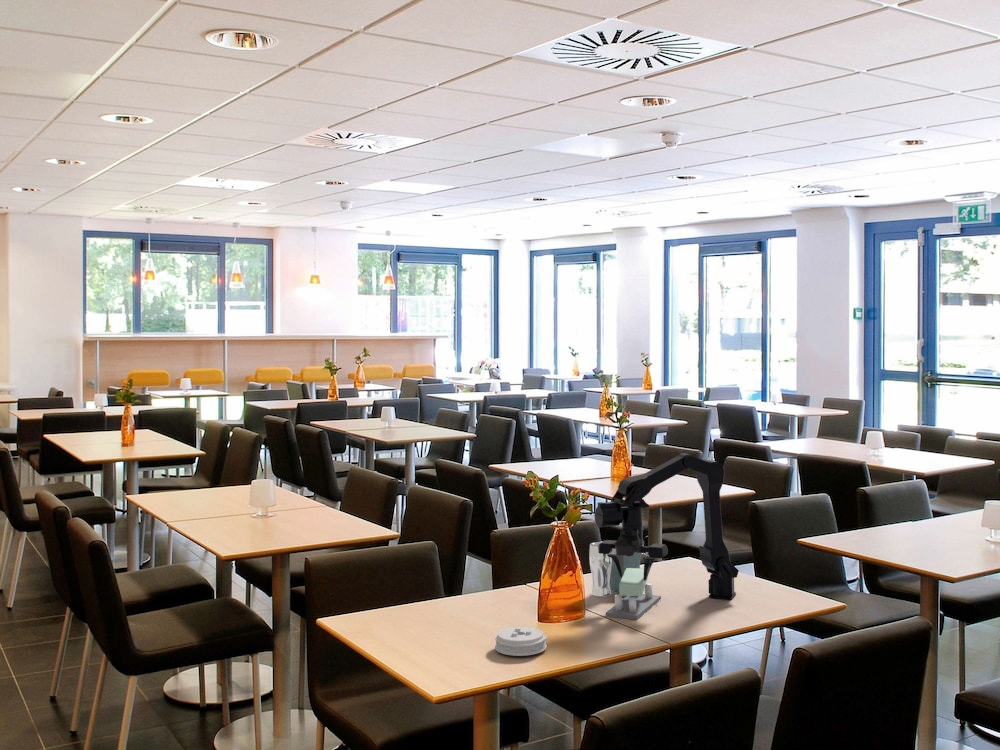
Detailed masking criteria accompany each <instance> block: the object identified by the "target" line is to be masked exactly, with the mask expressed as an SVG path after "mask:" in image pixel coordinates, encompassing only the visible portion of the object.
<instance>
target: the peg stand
mask: <svg viewBox="0 0 1000 750" xmlns="http://www.w3.org/2000/svg"><path fill="white" fill-rule="evenodd" d="M660 599H662V596H661V595H655V594H653V584H652V583H648V582H646V585H645V588H644V593H643V594H642V596H629V595H625V597H624V598H623V595H619V594H615V595H614V605H613V606H612V607H610V608H609V609H608V610H607V611H606V612H605V617H608V618H609V617H610V618H611V617H613V618H620V619H626V620H627V619H628V620H637V621H638V620H639V619H641V617H642V616H643V615H645V614H646V613H647V612H649V611H650V609H652V608H653V607H654V606H655V605H656V604H658V603H659V602H660V601H661V600H660ZM659 600H660V601H659ZM653 605H654V606H653ZM652 606H653V607H652ZM644 613H645V614H644Z"/></svg>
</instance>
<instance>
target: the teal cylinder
mask: <svg viewBox="0 0 1000 750" xmlns="http://www.w3.org/2000/svg"><path fill="white" fill-rule="evenodd" d="M641 558H642V553H637V552H634V554H633V555H632V556H626V555H624V572H625V570H626V568H641V567H640V566H641ZM620 581H621V577H620V574H619V572H618V569H617V567H616V564H615V562H614V560H613V568H612V575H611V589H612V591H613V590H614V592H617V591H619V584H620Z"/></svg>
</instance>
